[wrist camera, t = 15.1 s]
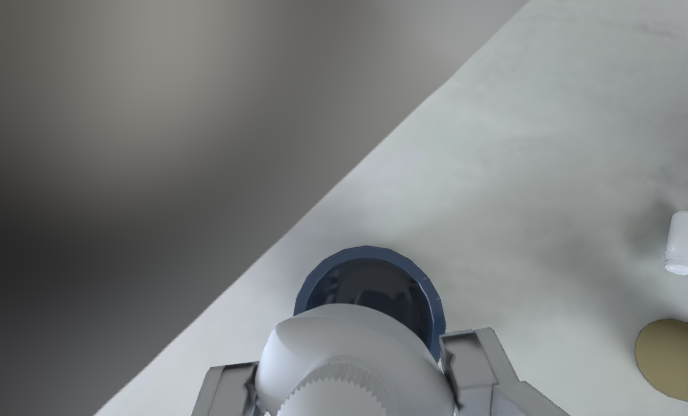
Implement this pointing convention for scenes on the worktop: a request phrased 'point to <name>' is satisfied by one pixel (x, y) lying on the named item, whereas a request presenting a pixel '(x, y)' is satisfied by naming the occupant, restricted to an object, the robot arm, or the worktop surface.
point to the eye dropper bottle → (349, 367)
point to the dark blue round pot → (378, 290)
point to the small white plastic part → (677, 244)
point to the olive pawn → (665, 356)
